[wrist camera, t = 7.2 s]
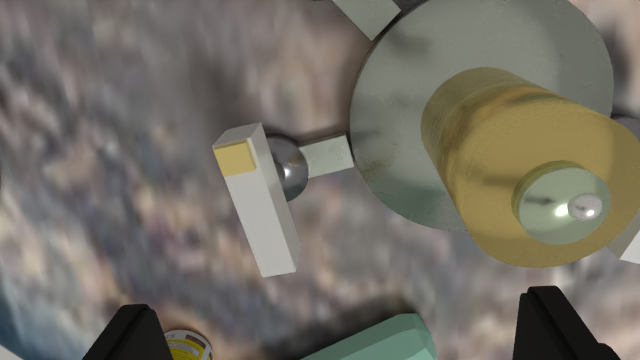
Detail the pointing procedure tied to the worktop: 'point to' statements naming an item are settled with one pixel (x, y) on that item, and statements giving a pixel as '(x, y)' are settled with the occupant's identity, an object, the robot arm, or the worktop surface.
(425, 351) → the mint green rod
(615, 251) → the white handle
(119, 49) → the worktop surface
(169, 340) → the supplement bottle
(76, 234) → the worktop surface
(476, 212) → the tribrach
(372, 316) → the worktop surface
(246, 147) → the knob
